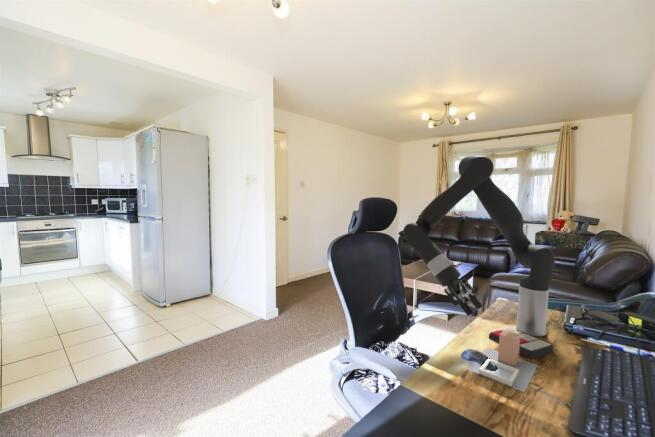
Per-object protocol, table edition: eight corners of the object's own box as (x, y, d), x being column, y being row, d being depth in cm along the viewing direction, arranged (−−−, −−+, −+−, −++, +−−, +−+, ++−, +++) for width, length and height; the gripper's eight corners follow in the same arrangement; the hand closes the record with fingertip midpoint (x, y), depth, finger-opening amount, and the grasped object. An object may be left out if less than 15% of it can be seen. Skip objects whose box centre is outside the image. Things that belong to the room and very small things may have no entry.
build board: (486, 351, 99) (487, 344, 99) (537, 368, 89) (538, 361, 89) (467, 373, 86) (467, 365, 86) (523, 396, 76) (524, 387, 76)
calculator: (509, 326, 111) (553, 343, 97) (509, 338, 111) (553, 356, 97) (488, 331, 107) (531, 349, 93) (488, 343, 107) (531, 363, 93)
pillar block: (502, 354, 95) (503, 330, 94) (518, 360, 92) (520, 334, 91) (497, 359, 92) (499, 334, 91) (514, 365, 88) (516, 339, 88)
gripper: (442, 267, 98) (477, 311, 91) (459, 260, 108) (492, 300, 101) (426, 279, 102) (458, 322, 95) (443, 272, 112) (474, 310, 105)
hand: (475, 310), depth 98 cm, fingers open, 8 cm apart
